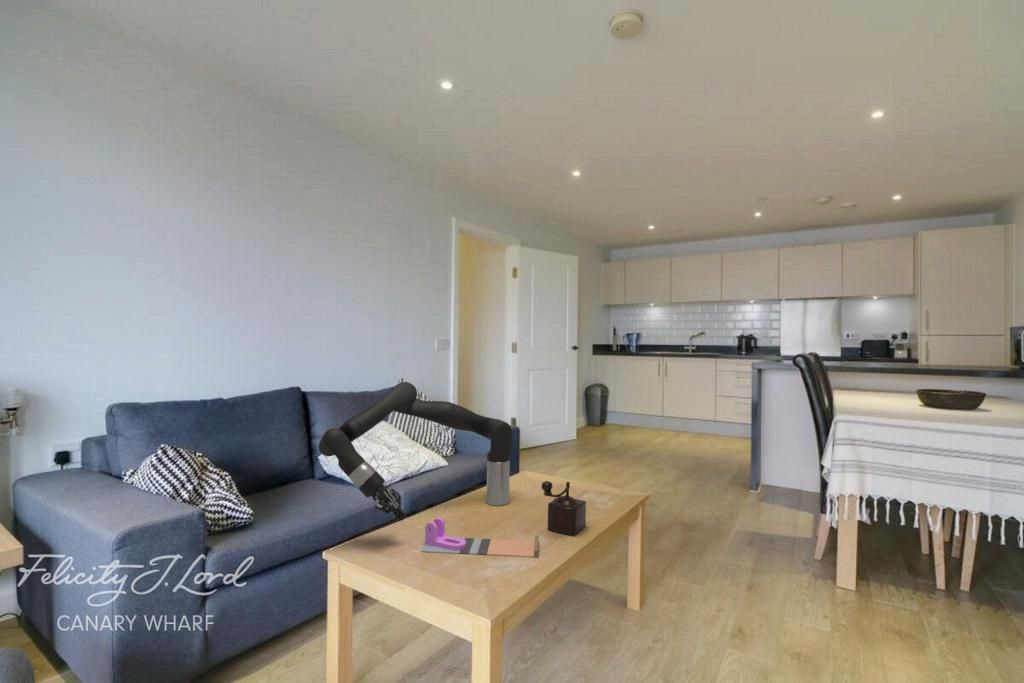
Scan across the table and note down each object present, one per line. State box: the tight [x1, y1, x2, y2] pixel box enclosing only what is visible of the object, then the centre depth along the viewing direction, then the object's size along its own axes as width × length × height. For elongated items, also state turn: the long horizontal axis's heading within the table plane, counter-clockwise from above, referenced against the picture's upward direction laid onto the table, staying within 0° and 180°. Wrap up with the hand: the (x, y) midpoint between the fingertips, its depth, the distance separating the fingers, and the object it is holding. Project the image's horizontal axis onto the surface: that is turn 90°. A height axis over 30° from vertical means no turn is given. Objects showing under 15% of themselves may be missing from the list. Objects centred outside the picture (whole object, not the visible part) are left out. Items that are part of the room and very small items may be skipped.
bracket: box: [424, 516, 466, 551], centre depth 152 cm, size 13×6×7 cm, turn 65°
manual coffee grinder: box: [541, 480, 587, 537], centre depth 165 cm, size 16×11×18 cm
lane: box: [420, 535, 540, 558], centre depth 152 cm, size 11×36×2 cm, turn 86°
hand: (403, 518), depth 153 cm, fingers closed
